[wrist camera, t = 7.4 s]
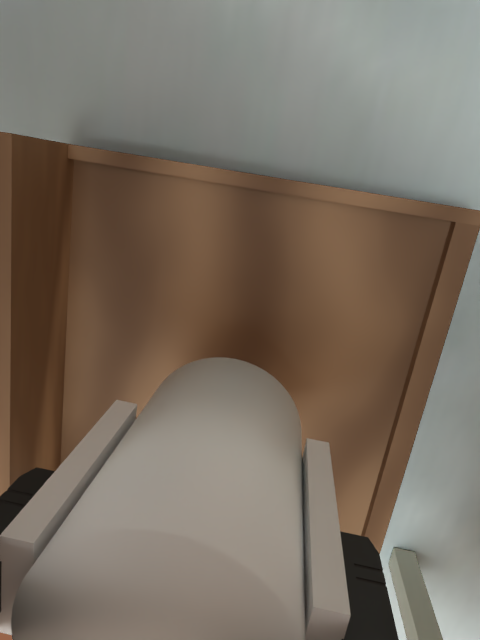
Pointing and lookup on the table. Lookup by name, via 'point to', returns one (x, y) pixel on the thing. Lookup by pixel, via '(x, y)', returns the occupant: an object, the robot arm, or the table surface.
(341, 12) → the table surface
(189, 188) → the tray
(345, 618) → the robot arm
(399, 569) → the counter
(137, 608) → the beige rounded cylinder
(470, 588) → the table surface
